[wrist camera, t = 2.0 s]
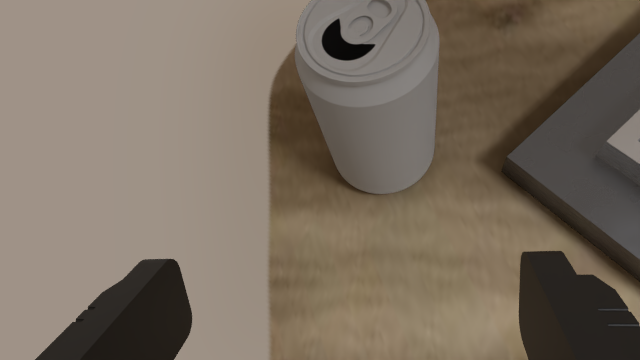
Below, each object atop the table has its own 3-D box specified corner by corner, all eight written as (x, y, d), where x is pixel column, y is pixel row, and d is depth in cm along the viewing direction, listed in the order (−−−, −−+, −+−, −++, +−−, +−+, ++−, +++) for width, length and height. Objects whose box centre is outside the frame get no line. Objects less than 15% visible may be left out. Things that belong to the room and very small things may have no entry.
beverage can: (315, 155, 31) (256, 34, 20) (384, 93, 32) (362, -56, 21) (383, 219, 28) (358, 118, 17) (456, 149, 29) (475, 11, 18)
